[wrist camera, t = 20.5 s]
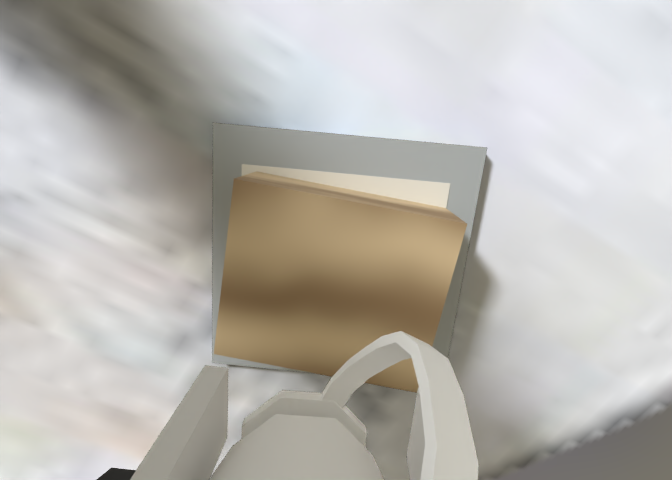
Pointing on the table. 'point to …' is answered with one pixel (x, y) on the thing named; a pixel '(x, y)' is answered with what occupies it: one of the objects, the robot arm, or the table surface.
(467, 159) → the build board
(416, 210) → the oak block
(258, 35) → the table surface
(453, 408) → the cup
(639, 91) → the table surface
